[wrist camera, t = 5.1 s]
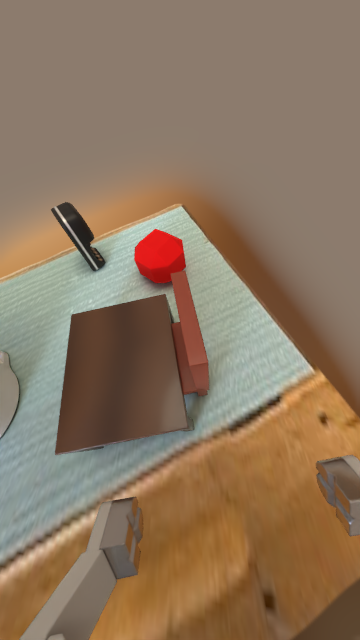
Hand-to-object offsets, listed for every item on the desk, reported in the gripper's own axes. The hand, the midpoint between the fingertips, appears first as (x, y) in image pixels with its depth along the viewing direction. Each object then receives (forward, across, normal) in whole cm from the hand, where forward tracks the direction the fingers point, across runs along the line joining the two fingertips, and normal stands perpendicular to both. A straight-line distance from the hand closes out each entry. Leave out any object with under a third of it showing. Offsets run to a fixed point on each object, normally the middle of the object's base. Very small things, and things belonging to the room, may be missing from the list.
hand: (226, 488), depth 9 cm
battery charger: (+39, +16, -15) cm, 45 cm away
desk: (+20, +9, +4) cm, 22 cm away
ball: (+34, +2, -9) cm, 35 cm away
